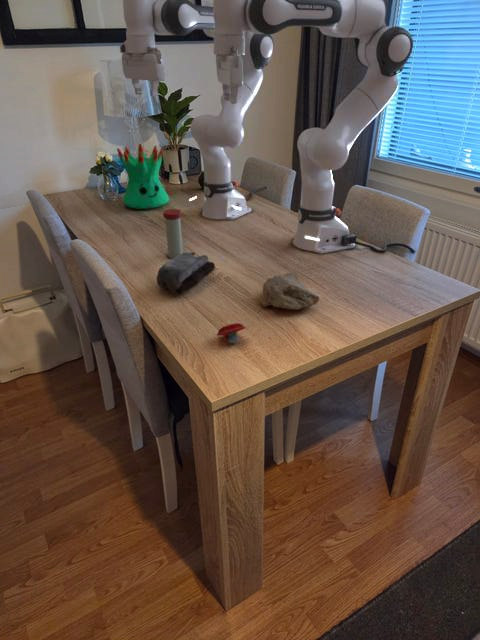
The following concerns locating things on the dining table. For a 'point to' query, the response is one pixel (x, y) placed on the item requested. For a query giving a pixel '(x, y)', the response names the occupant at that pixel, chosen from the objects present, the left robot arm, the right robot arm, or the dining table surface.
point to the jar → (174, 237)
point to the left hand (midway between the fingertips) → (146, 95)
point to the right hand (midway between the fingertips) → (230, 101)
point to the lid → (172, 214)
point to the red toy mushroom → (231, 331)
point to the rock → (184, 272)
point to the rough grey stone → (287, 293)
